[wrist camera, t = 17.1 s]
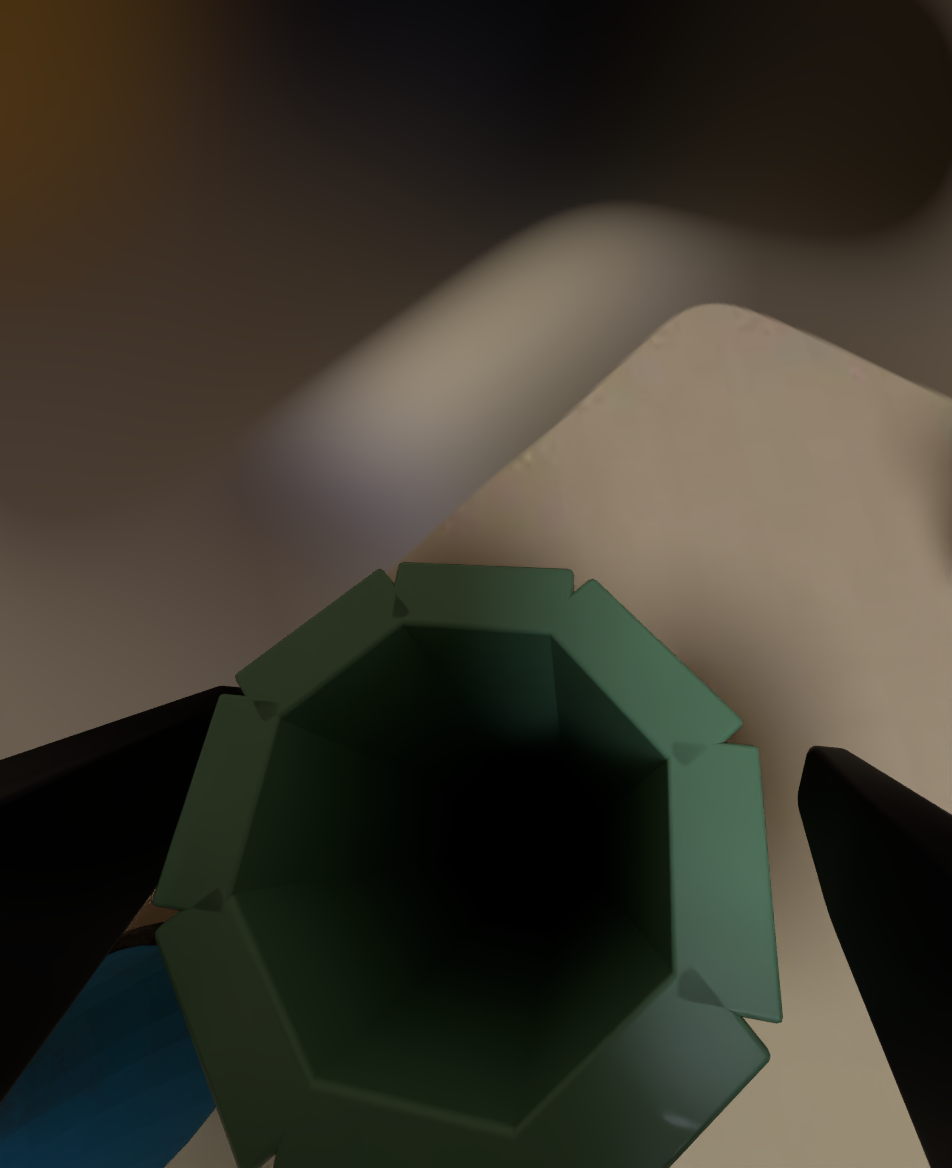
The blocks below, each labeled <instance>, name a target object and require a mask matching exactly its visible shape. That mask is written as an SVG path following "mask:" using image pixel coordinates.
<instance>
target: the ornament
mask: <svg viewBox="0 0 952 1168" xmlns="http://www.w3.org/2000/svg"><path fill="white" fill-rule="evenodd" d="M164 923H165V922H162V923H157V924H152V925H148V926H143V927H139V928H135V929H132V930H129V931H127V932H125V933H124V934H122V936H121V937H120V938H119V940H118V941H117V942H116V944H115V945H114V947H113V948H112V949H111V951H110V952H109V954H108V955H107V956H106V958H105V959H104V961H103V962H102V963H101V965H100V966H99V968H98V969H97V970H96V972H95V973H94V975H93V976H92V977H91V979H90V980H89V981H88V983H87V984H86V986H85V987H84V988H83V990H82V991H81V993H80V994H79V995H78V997H77V998H76V1000H75V1001H74V1002H73V1004H72V1005H71V1007H70V1008H69V1009H68V1011H67V1012H66V1014H65V1015H64V1016H63V1018H62V1019H61V1021H60V1022H59V1023H58V1025H57V1026H56V1027H55V1029H54V1030H53V1032H52V1033H51V1034H50V1036H49V1037H48V1039H47V1040H46V1041H45V1043H44V1044H43V1046H42V1047H41V1048H40V1050H39V1051H38V1053H37V1054H36V1055H35V1057H34V1058H33V1060H32V1061H31V1062H30V1064H29V1065H28V1067H27V1068H26V1069H25V1071H24V1072H23V1073H22V1075H21V1076H20V1078H19V1079H18V1080H17V1082H16V1083H15V1085H14V1086H13V1087H12V1089H11V1090H10V1092H9V1093H8V1094H7V1096H6V1097H5V1099H4V1100H3V1101H2V1103H1V1104H0V1168H164V1167H165V1166H166V1165H167V1164H168V1163H169V1162H170V1161H171V1160H172V1159H173V1157H174V1156H175V1155H176V1154H177V1153H178V1152H179V1151H180V1150H181V1149H182V1148H183V1147H184V1146H185V1145H186V1144H187V1143H188V1142H189V1140H190V1139H191V1138H192V1137H193V1135H194V1134H195V1133H196V1132H197V1130H198V1129H199V1128H200V1127H201V1125H202V1124H203V1123H204V1122H205V1121H206V1119H207V1118H208V1117H209V1115H210V1114H211V1113H212V1111H213V1110H214V1108H215V1107H216V1105H215V1103H214V1100H213V1097H212V1094H211V1092H210V1089H209V1086H208V1083H207V1081H206V1078H205V1075H204V1072H203V1070H202V1067H201V1064H200V1061H199V1059H198V1056H197V1053H196V1050H195V1048H194V1045H193V1042H192V1039H191V1037H190V1034H189V1031H188V1028H187V1025H186V1023H185V1020H184V1017H183V1014H182V1012H181V1009H180V1006H179V1003H178V1001H177V998H176V995H175V992H174V990H173V987H172V984H171V981H170V979H169V976H168V973H167V970H166V968H165V965H164V962H163V959H162V957H161V954H160V951H159V948H158V946H157V943H156V940H155V932H156V931H157V929H158V928H159V927H160V926H161V925H162V924H164Z"/></svg>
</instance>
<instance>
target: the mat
mask: <svg viewBox="0 0 952 1168" xmlns="http://www.w3.org/2000/svg"><path fill="white" fill-rule="evenodd" d="M604 839H605V812H604V811H603V810H602V809H601V807H600V806H599V805H598V804H597V803H596V801H595V800H594V799H593V798H592V797H591V795H590V794H589V793H588V792H587V791H586V789H585V788H584V787H583V786H582V785H581V783H580V782H579V781H578V780H577V778H576V777H575V776H574V775H573V774H572V772H571V771H570V770H569V769H568V768H567V766H566V765H565V764H564V763H563V762H562V761H558V760H549V759H540V758H531V757H522V756H512V755H503V754H502V755H500V756H499V757H498V758H497V759H496V760H494V761H493V762H492V763H491V764H490V765H489V766H487V767H486V768H485V769H484V770H483V771H481V772H480V773H479V774H478V775H477V776H476V777H474V778H473V779H472V780H471V781H470V782H468V783H467V784H466V785H465V786H464V787H462V788H461V789H460V790H459V791H458V792H457V793H455V796H454V804H453V811H452V819H451V826H450V834H449V841H448V849H447V856H446V863H447V865H448V866H449V868H450V870H451V871H452V873H453V874H454V876H455V877H456V879H457V880H458V882H459V883H460V885H461V886H462V888H463V890H464V891H465V893H466V894H467V896H468V897H469V899H470V900H471V902H472V903H473V905H474V907H475V908H476V910H477V911H478V913H479V914H480V916H481V917H482V919H483V920H484V922H488V923H494V924H499V925H505V926H511V927H517V928H523V929H529V930H534V931H540V932H546V933H553V932H554V931H555V930H556V929H558V928H559V927H560V926H561V925H562V924H563V923H564V922H565V921H566V920H567V919H568V918H569V917H570V916H571V915H573V914H574V913H575V912H576V911H577V910H578V909H579V908H580V907H581V906H582V905H583V904H584V903H585V902H587V901H588V900H589V899H590V898H591V897H592V896H593V895H594V894H595V893H596V892H597V891H598V890H599V889H601V888H602V887H603V882H604Z"/></svg>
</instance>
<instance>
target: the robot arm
mask: <svg viewBox="0 0 952 1168" xmlns="http://www.w3.org/2000/svg"><path fill="white" fill-rule="evenodd" d="M222 694H232V695H242V696H245V695H244V693H243V692H242V690H241V688H239V687H230V686H218V687H215V688H212V689H209V690H206V691H203V692H200V693H197V694H194V695H192V696H189V697H185V698H182V699H179V700H176V701H174V702H170V703H168V704H165V705H162V706H159V707H156V708H153V709H150V710H147V711H144V712H141V713H138V714H135V715H132V716H129V717H126V718H123V719H120V720H117V721H114V722H111V723H108V724H105V725H103V726H100V727H97V728H94V729H91V730H88V731H85V732H82V733H79V734H76V735H73V736H70V737H67V738H64V739H61V740H58V741H55V742H52V743H49V744H46V745H44V746H40V747H38V748H35V749H32V750H29V751H26V752H23V753H20V754H17V755H14V756H11V757H8V758H5V759H2V760H0V1104H1V1103H2V1101H3V1100H4V1099H5V1097H6V1096H7V1094H8V1093H9V1092H10V1090H11V1089H12V1087H13V1086H14V1085H15V1083H16V1082H17V1080H18V1079H19V1078H20V1076H21V1075H22V1073H23V1072H24V1071H25V1069H26V1068H27V1067H28V1065H29V1064H30V1062H31V1061H32V1060H33V1058H34V1057H35V1055H36V1054H37V1053H38V1051H39V1050H40V1048H41V1047H42V1046H43V1044H44V1043H45V1041H46V1040H47V1039H48V1037H49V1036H50V1034H51V1033H52V1032H53V1030H54V1029H55V1027H56V1026H57V1025H58V1023H59V1022H60V1021H61V1019H62V1018H63V1016H64V1015H65V1014H66V1012H67V1011H68V1009H69V1008H70V1007H71V1005H72V1004H73V1002H74V1001H75V1000H76V998H77V997H78V995H79V994H80V993H81V991H82V990H83V988H84V987H85V986H86V984H87V983H88V981H89V980H90V979H91V977H92V976H93V975H94V973H95V972H96V970H97V969H98V968H99V966H100V965H101V963H102V962H103V961H104V959H105V958H106V956H107V955H108V954H109V952H110V951H111V949H112V948H113V947H114V945H115V944H116V942H117V941H118V940H119V938H120V937H121V936H122V934H123V933H124V931H125V930H126V929H127V927H128V926H129V924H130V923H131V922H132V920H133V919H134V917H135V916H136V915H137V913H138V912H139V910H140V909H141V908H142V906H143V905H144V903H145V902H146V901H147V899H148V898H149V896H150V895H151V894H152V892H153V891H154V890H155V888H156V887H157V885H158V882H159V879H160V876H161V873H162V869H163V866H164V863H165V860H166V857H167V854H168V851H169V848H170V845H171V842H172V839H173V836H174V833H175V830H176V827H177V824H178V821H179V818H180V815H181V811H182V808H183V805H184V802H185V799H186V796H187V793H188V790H189V787H190V784H191V781H192V778H193V775H194V772H195V769H196V766H197V763H198V760H199V757H200V754H201V750H202V747H203V744H204V741H205V738H206V735H207V732H208V729H209V726H210V723H211V720H212V717H213V714H214V711H215V708H216V705H217V702H218V699H219V696H220V695H222ZM798 807H799V812H800V815H801V819H802V822H803V826H804V829H805V833H806V836H807V840H808V843H809V847H810V851H811V854H812V858H813V861H814V865H815V868H816V872H817V875H818V879H819V882H820V886H821V889H822V893H823V897H824V900H825V903H826V906H827V909H828V913H829V916H830V918H831V921H832V924H833V926H834V929H835V932H836V934H837V937H838V939H839V942H840V944H841V947H842V949H843V952H844V954H845V957H846V959H847V962H848V964H849V967H850V969H851V972H852V974H853V977H854V979H855V982H856V984H857V986H858V989H859V991H860V994H861V996H862V999H863V1001H864V1004H865V1006H866V1009H867V1011H868V1014H869V1016H870V1019H871V1021H872V1024H873V1026H874V1029H875V1031H876V1034H877V1036H878V1038H879V1041H880V1043H881V1046H882V1048H883V1051H884V1053H885V1056H886V1058H887V1061H888V1063H889V1066H890V1068H891V1071H892V1073H893V1076H894V1078H895V1081H896V1083H897V1086H898V1088H899V1090H900V1093H901V1095H902V1098H903V1100H904V1103H905V1105H906V1108H907V1110H908V1113H909V1115H910V1118H911V1120H912V1123H913V1125H914V1128H915V1130H916V1133H917V1135H918V1138H919V1140H920V1142H921V1145H922V1147H923V1150H924V1152H925V1155H926V1157H927V1160H928V1162H929V1165H930V1167H931V1168H952V815H951V814H949V813H948V812H946V811H945V810H943V809H941V808H940V807H938V806H936V805H935V804H933V803H932V802H930V801H928V800H927V799H925V798H924V797H922V796H920V795H919V794H917V793H915V792H914V791H912V790H911V789H909V788H907V787H906V786H904V785H902V784H901V783H899V782H898V781H896V780H894V779H893V778H891V777H889V776H888V775H886V774H885V773H883V772H881V771H880V770H878V769H876V768H875V767H873V766H872V765H870V764H868V763H867V762H865V761H863V760H862V759H860V758H859V757H857V756H855V755H854V754H852V753H850V752H849V751H847V750H845V749H842V748H835V747H825V746H813V747H811V748H810V749H809V751H808V753H807V755H806V759H805V764H804V768H803V773H802V777H801V781H800V786H799V790H798Z"/></svg>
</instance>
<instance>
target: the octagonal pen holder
mask: <svg viewBox="0 0 952 1168" xmlns="http://www.w3.org/2000/svg"><path fill="white" fill-rule="evenodd" d="M235 677H236V681H237V683H238V684H239V686H240V688H241V690H242V692H243V693H244V695H245V696H242V695H232V694H222V695H220V696H219V699H218V702H217V705H216V708H215V711H214V714H213V717H212V720H211V723H210V726H209V729H208V732H207V735H206V738H205V741H204V744H203V747H202V750H201V754H200V757H199V760H198V763H197V766H196V769H195V772H194V775H193V778H192V781H191V784H190V787H189V790H188V793H187V796H186V799H185V802H184V805H183V808H182V811H181V815H180V818H179V821H178V824H177V827H176V830H175V833H174V836H173V839H172V842H171V845H170V848H169V851H168V854H167V857H166V860H165V863H164V866H163V869H162V873H161V876H160V879H159V882H158V885H157V888H156V891H155V894H154V897H153V900H152V904H154V905H155V906H159V907H164V908H169V909H175V910H180V911H178V912H177V913H176V914H175V915H173V916H172V917H171V918H170V919H168V920H167V921H166V922H165V923H164V924H162V925H161V926H160V927H159V928H158V929H157V931H156V932H155V940H156V943H157V946H158V948H159V951H160V954H161V957H162V959H163V962H164V965H165V968H166V970H167V973H168V976H169V979H170V981H171V984H172V987H173V990H174V992H175V995H176V998H177V1001H178V1003H179V1006H180V1009H181V1012H182V1014H183V1017H184V1020H185V1023H186V1025H187V1028H188V1031H189V1034H190V1037H191V1039H192V1042H193V1045H194V1048H195V1050H196V1053H197V1056H198V1059H199V1061H200V1064H201V1067H202V1070H203V1072H204V1075H205V1078H206V1081H207V1083H208V1086H209V1089H210V1092H211V1094H212V1097H213V1100H214V1103H215V1105H216V1108H217V1111H218V1114H219V1116H220V1119H221V1122H222V1125H223V1127H224V1130H225V1133H226V1136H227V1139H228V1141H229V1144H230V1147H231V1150H232V1152H233V1155H234V1158H235V1161H236V1163H237V1166H238V1168H261V1167H262V1166H263V1165H264V1164H265V1163H266V1162H267V1161H268V1160H269V1159H270V1158H272V1157H273V1156H274V1155H275V1154H276V1157H275V1162H274V1167H273V1168H669V1167H670V1166H671V1165H672V1164H673V1163H674V1162H675V1161H676V1160H677V1159H678V1158H679V1157H680V1156H681V1155H682V1154H683V1152H684V1151H685V1150H686V1149H687V1148H688V1147H689V1146H690V1145H691V1144H692V1143H693V1142H694V1141H695V1140H696V1139H697V1138H698V1136H699V1135H700V1134H701V1133H702V1132H703V1131H704V1130H705V1129H706V1128H707V1127H708V1126H709V1125H710V1124H711V1123H712V1122H713V1120H714V1119H715V1118H716V1117H717V1116H718V1115H719V1114H720V1113H721V1112H722V1111H723V1110H724V1109H725V1108H726V1107H727V1106H728V1104H729V1103H730V1102H731V1101H732V1100H733V1099H734V1098H735V1097H736V1096H737V1095H738V1094H739V1093H740V1092H741V1091H742V1090H743V1088H744V1087H745V1086H746V1085H747V1084H748V1083H749V1082H750V1081H751V1080H752V1079H753V1078H754V1077H755V1076H756V1075H757V1074H758V1072H759V1071H760V1070H761V1069H762V1068H763V1067H764V1066H765V1065H766V1064H767V1063H768V1062H769V1059H770V1053H769V1051H768V1048H767V1047H766V1046H765V1045H764V1043H763V1042H762V1041H761V1040H760V1038H759V1037H758V1036H757V1035H756V1033H755V1032H754V1031H753V1030H752V1028H751V1027H750V1026H749V1025H748V1023H747V1022H746V1021H745V1020H744V1018H743V1017H745V1018H751V1019H756V1020H761V1021H766V1022H772V1023H780V1022H782V1018H783V1013H782V1002H781V991H780V980H779V969H778V958H777V947H776V936H775V925H774V914H773V903H772V892H771V881H770V870H769V859H768V848H767V837H766V826H765V815H764V804H763V793H762V782H761V771H760V760H759V751H758V748H757V747H755V746H753V745H745V744H735V743H724V742H725V741H726V740H728V739H729V738H730V737H731V736H732V735H733V734H734V733H735V732H736V731H737V730H738V729H740V728H741V726H742V723H743V722H742V720H741V718H740V717H739V716H738V715H737V714H736V713H735V712H734V711H733V710H732V709H731V708H730V707H729V706H728V705H727V704H726V703H724V702H723V701H722V700H721V699H720V698H719V697H718V696H717V695H716V694H715V693H714V692H713V691H712V690H711V689H710V688H709V687H708V686H707V685H706V684H705V683H703V682H702V681H701V680H700V679H699V678H698V677H697V676H696V675H695V674H694V673H693V672H692V671H691V670H690V669H689V668H688V667H687V666H686V665H685V664H684V663H682V662H681V661H680V660H679V659H678V658H677V657H676V656H675V655H674V654H673V653H672V652H671V651H670V650H669V649H668V648H667V647H666V646H665V645H664V644H663V643H661V642H660V641H659V640H658V639H657V638H656V637H655V636H654V635H653V634H652V633H651V632H650V631H649V630H648V629H647V628H646V627H645V626H644V625H643V624H642V623H640V622H639V621H638V620H637V619H636V618H635V617H634V616H633V615H632V614H631V613H630V612H629V611H628V610H627V609H626V608H625V607H624V606H623V605H622V604H621V603H619V602H618V601H617V600H616V599H615V598H614V597H613V596H612V595H611V594H610V593H609V592H608V591H607V590H606V589H605V588H604V587H603V586H602V585H601V584H600V583H599V582H597V581H596V580H594V579H591V580H588V581H587V582H586V583H585V584H583V585H582V586H581V587H580V588H578V589H577V590H576V591H575V592H574V574H573V572H572V570H570V569H558V568H533V567H509V566H484V565H460V564H435V563H411V562H402V563H400V564H399V566H398V570H397V575H396V580H395V584H394V583H393V582H392V580H391V579H390V578H389V577H388V575H387V574H386V573H385V572H384V571H383V570H381V569H378V570H376V571H375V572H373V573H372V574H371V575H369V576H368V577H367V578H365V579H364V580H363V581H361V582H360V583H359V584H357V585H356V586H354V587H353V588H352V589H350V590H349V591H348V592H346V593H345V594H344V595H342V596H341V597H340V598H338V599H337V600H336V601H334V602H333V603H331V604H330V605H329V606H327V607H326V608H325V609H323V610H322V611H321V612H319V613H318V614H317V615H316V616H314V617H313V618H311V619H310V620H309V621H307V622H306V623H304V624H303V625H302V626H300V627H299V628H298V629H297V630H295V631H294V632H292V633H291V634H290V635H288V636H287V637H286V638H284V639H283V640H282V641H280V642H279V643H278V644H276V645H275V646H273V647H272V648H271V649H270V650H268V651H267V652H265V653H264V654H263V655H261V656H260V657H259V658H257V659H256V660H255V661H253V662H252V663H251V664H249V665H248V666H246V667H245V668H244V669H242V670H241V671H240V672H238V673H237V674H236V676H235ZM502 754H503V755H512V756H522V757H531V758H540V759H549V760H558V761H562V762H563V763H564V764H565V765H566V766H567V768H568V769H569V770H570V771H571V772H572V774H573V775H574V776H575V777H576V778H577V780H578V781H579V782H580V783H581V785H582V786H583V787H584V788H585V789H586V791H587V792H588V793H589V794H590V795H591V797H592V798H593V799H594V800H595V801H596V803H597V804H598V805H599V806H600V807H601V809H602V810H603V811H604V812H605V839H604V882H603V887H602V888H601V889H599V890H598V891H597V892H596V893H595V894H594V895H593V896H592V897H591V898H590V899H589V900H588V901H587V902H585V903H584V904H583V905H582V906H581V907H580V908H579V909H578V910H577V911H576V912H575V913H574V914H573V915H571V916H570V917H569V918H568V919H567V920H566V921H565V922H564V923H563V924H562V925H561V926H560V927H559V928H558V929H556V930H555V931H554V932H553V933H546V932H540V931H534V930H529V929H523V928H517V927H511V926H505V925H499V924H494V923H488V922H484V920H483V919H482V917H481V916H480V914H479V913H478V911H477V910H476V908H475V907H474V905H473V903H472V902H471V900H470V899H469V897H468V896H467V894H466V893H465V891H464V890H463V888H462V886H461V885H460V883H459V882H458V880H457V879H456V877H455V876H454V874H453V873H452V871H451V870H450V868H449V866H448V865H447V863H446V856H447V849H448V841H449V834H450V826H451V819H452V811H453V804H454V796H455V793H457V792H458V791H459V790H460V789H461V788H462V787H464V786H465V785H466V784H467V783H468V782H470V781H471V780H472V779H473V778H474V777H476V776H477V775H478V774H479V773H480V772H481V771H483V770H484V769H485V768H486V767H487V766H489V765H490V764H491V763H492V762H493V761H494V760H496V759H497V758H498V757H499V756H500V755H502Z"/></svg>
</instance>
